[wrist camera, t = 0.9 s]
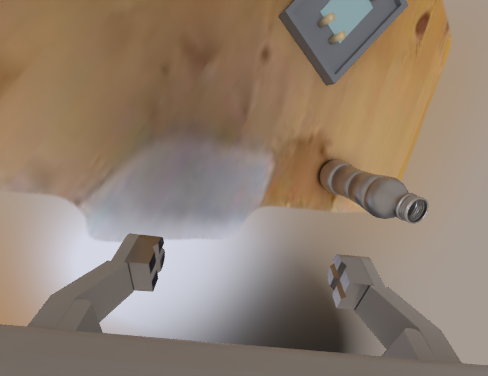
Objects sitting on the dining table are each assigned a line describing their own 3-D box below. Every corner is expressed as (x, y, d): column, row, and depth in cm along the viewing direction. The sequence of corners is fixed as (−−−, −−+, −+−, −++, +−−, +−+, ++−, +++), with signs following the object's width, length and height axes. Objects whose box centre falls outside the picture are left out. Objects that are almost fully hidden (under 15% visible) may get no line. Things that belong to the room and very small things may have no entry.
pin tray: (278, 16, 39) (290, 5, 35) (357, -70, 39) (379, -92, 34) (326, 84, 45) (341, 82, 41) (396, 10, 44) (419, 0, 40)
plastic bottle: (343, 155, 50) (441, 182, 32) (342, 186, 53) (432, 228, 34) (315, 159, 49) (401, 190, 31) (315, 191, 51) (394, 238, 33)
